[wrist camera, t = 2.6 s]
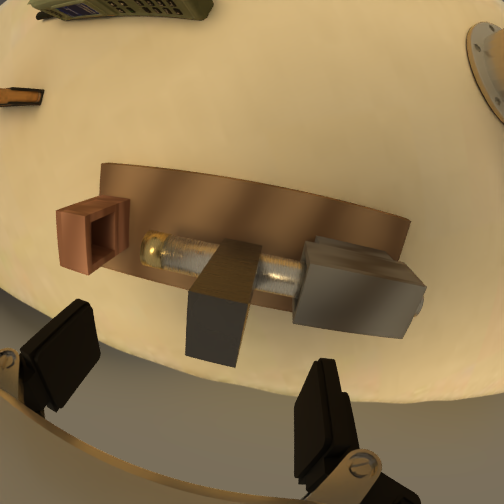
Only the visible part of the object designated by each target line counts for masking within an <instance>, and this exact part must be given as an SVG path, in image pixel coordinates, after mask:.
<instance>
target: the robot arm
mask: <svg viewBox="0 0 504 504" xmlns="http://www.w3.org/2000/svg"><path fill="white" fill-rule="evenodd" d="M467 51H468V57H469V61H470V64H471V68H472V71H473V73H474V76H475V78H476V81H477V83H478V85H479V87H480V89H481V92H482V94H483V95H484V97H485V99H486V101H487V102H488V104H489V105H490V107H491V108H492V110H493V111H494V113H495V114H496V115H497V116H498V118H499V119H500V120H501V121H502V122H503V123H504V29H501V28H500V27H498V26H496V25H494V24H492V23H488V22H480V23H478V24H475V25H474V26H473V27H471V28H470V30H469V32H468V36H467ZM20 351H21V353H20V354H18V352H17V351H16V350H14V349H12V348H4V349H1V350H0V504H421V501H420V498H419V497H418V495H417V494H415V493H414V492H413V491H411V490H409V489H407V488H406V487H404V486H403V485H401V484H399V483H398V482H396V481H395V480H393V479H391V478H390V477H388V476H386V475H385V474H384V473H382V472H381V470H382V463H381V460H380V458H379V457H378V456H377V455H376V454H375V453H374V452H372V451H370V450H367V449H360V448H359V443H358V438H357V433H356V428H355V422H354V417H353V413H352V408H351V403H350V398H349V395H348V394H347V392H342V390H341V385H340V381H339V376H338V371H337V367H336V362H335V360H334V359H326V358H320V359H319V360H318V361H314V362H313V365H312V367H311V369H310V372H309V374H308V376H307V378H306V381H305V383H304V385H303V387H302V389H301V392H300V394H299V396H298V398H297V400H296V402H295V406H294V476H295V478H299V483H298V484H306V490H307V491H308V493H307V494H306V495H305V496H304V497H302V498H301V499H300V500H299V499H287V498H278V497H267V496H258V495H250V494H243V493H237V492H231V491H225V490H219V489H214V488H210V487H205V486H201V485H196V484H192V483H189V482H185V481H181V480H178V479H174V478H171V477H167V476H164V475H161V474H158V473H155V472H152V471H149V470H146V469H144V468H141V467H138V466H135V465H133V464H130V463H128V462H126V461H123V460H121V459H118V458H116V457H114V456H112V455H109V454H107V453H105V452H103V451H101V450H99V449H96V448H94V447H93V446H91V445H89V444H87V443H85V442H83V441H81V440H79V439H77V438H76V437H74V436H72V435H70V434H68V433H67V432H65V431H63V430H62V429H60V428H58V427H57V426H55V425H54V424H52V423H50V422H49V421H47V420H46V419H45V413H44V408H45V406H46V405H47V407H48V408H50V409H51V410H53V411H55V412H57V411H58V409H59V408H63V407H64V405H65V404H66V403H67V401H68V400H69V398H70V397H71V396H72V394H73V393H74V392H75V390H76V389H77V388H78V386H79V385H80V384H81V382H82V381H83V380H84V378H85V377H86V376H87V374H88V373H89V372H90V370H91V369H92V368H93V367H94V365H95V364H96V363H97V361H98V360H99V358H100V354H101V353H100V348H99V343H98V338H97V333H96V327H95V321H94V315H93V309H92V307H91V306H90V304H89V303H88V302H86V301H83V300H81V299H76V300H75V301H73V302H72V303H71V304H70V305H69V306H67V307H66V308H65V309H64V310H63V311H61V312H60V313H59V314H58V315H57V316H56V317H54V318H53V319H52V320H51V321H50V322H49V323H48V324H46V325H45V326H44V327H43V328H42V329H41V330H40V331H39V332H38V333H36V334H35V335H34V336H33V337H32V338H31V339H30V340H29V341H28V342H27V343H26V344H25V345H23V346H22V347H21V348H20Z"/></svg>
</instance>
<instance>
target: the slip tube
mask: <svg viewBox="0 0 504 504" xmlns="http://www.w3.org/2000/svg"><path fill="white" fill-rule="evenodd" d="M262 246H263V245H258V244H253V243H248V242H243V241H238V240H233V239H228V238H224V240H223V241H222V243H221V244H220V245H219V244H214V243H209V242H204V241H199V240H194V239H189V238H184V237H180V236H175V235H172V234H168V233H164V232H159V231H154V230H149V231H148V232H147V233H146V234H145V236H144V238H143V240H142V243H141V247H140V261H141V263H142V264H143V265H145V266H149V267H153V268H157V269H161V270H168V271H172V272H176V273H181V274H185V275H189V276H193V277H197V279H196V280H195V282H194V283H193V285H192V286H191V288H190V289H189V291H188V307H187V325H186V349H185V355H186V356H189V357H193V358H197V359H201V360H204V361H208V362H212V363H217V364H221V365H225V366H230V367H234V368H235V367H236V363H237V359H238V355H239V350H240V346H241V342H242V338H243V334H244V330H245V325H246V321H247V317H248V313H249V308H250V304H251V300H252V296H253V291H254V290H258V291H263V292H267V293H272V294H277V295H283V296H288V297H293V298H298V299H299V296H300V293H301V289H302V286H303V282H304V278H305V275H306V271H307V263H306V262H302V261H297V260H293V259H288V258H283V257H278V256H273V255H268V254H263V253H261V251H262ZM423 301H424V295H423V297H422V300H421V302H420V304H419V306H418V309H417V311H416V313H415V315H414V317H416V316H417V315H418V314H419V312H420V311H421V308H422V306H423Z"/></svg>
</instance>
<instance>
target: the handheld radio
mask: <svg viewBox="0 0 504 504" xmlns="http://www.w3.org/2000/svg"><path fill="white" fill-rule="evenodd" d="M28 4H31V5H32V7H34V8H36V9H38V10H40V11H41V12H39V13H38V14H37V15H36V19H37V20H41V19H45V18H49V17H53V16H54V17H57V18H59V19H61V20H64V21H65V20H72V19H80V18H89V17H101V16H126V15H141V16H165V17H177V18H187V19H195V20H204V19H205V18H207V16H208V14H209V12H210V11H211V9H212V7H213V5H214V3H213V1H212V0H30V1H29V2H28Z"/></svg>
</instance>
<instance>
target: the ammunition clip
mask: <svg viewBox="0 0 504 504" xmlns="http://www.w3.org/2000/svg"><path fill="white" fill-rule="evenodd" d="M43 92H44V90H41V89H30V88H16V87H11V88H6V89H3V88H0V107H8V106H26V105H40V104H41V100H42V96H43Z"/></svg>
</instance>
